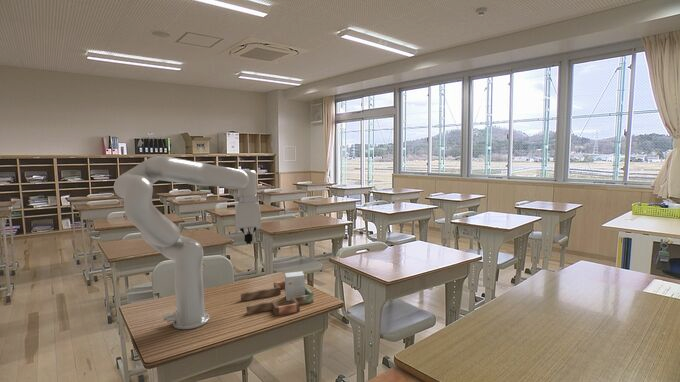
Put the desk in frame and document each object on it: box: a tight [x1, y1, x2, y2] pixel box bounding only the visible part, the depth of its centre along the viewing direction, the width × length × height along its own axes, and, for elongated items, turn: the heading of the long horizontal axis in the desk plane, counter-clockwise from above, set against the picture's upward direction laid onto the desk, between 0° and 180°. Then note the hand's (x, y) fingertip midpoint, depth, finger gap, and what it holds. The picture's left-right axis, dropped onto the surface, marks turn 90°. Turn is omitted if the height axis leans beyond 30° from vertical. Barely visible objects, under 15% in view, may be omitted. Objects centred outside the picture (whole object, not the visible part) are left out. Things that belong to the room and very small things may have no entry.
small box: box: [284, 271, 306, 302], centre depth 159 cm, size 8×6×10 cm
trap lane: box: [240, 280, 315, 316], centre depth 156 cm, size 27×28×4 cm
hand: (248, 243), depth 155 cm, fingers closed
